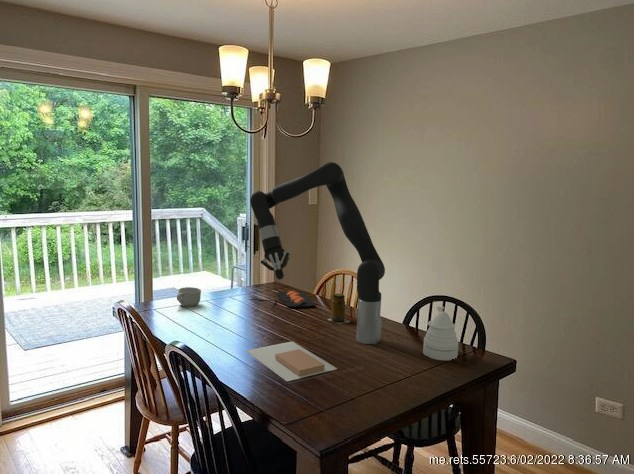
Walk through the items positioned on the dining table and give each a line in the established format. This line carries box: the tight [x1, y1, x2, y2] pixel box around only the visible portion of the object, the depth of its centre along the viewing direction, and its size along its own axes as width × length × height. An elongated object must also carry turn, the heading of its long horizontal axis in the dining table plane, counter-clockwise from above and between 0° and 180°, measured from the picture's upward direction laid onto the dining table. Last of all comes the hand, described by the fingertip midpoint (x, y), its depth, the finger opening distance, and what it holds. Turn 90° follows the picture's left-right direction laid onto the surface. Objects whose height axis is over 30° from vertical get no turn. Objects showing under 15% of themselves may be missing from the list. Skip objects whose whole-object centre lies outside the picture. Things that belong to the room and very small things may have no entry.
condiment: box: [327, 293, 352, 325], centre depth 218 cm, size 7×8×12 cm
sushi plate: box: [251, 290, 316, 310], centre depth 248 cm, size 29×30×4 cm
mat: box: [245, 341, 338, 385], centre depth 170 cm, size 30×20×1 cm, turn 34°
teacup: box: [176, 286, 202, 308], centre depth 234 cm, size 14×11×8 cm
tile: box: [275, 349, 324, 376], centre depth 165 cm, size 2×10×16 cm
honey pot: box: [422, 305, 460, 361], centre depth 182 cm, size 13×13×18 cm
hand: (280, 279), depth 192 cm, fingers closed
